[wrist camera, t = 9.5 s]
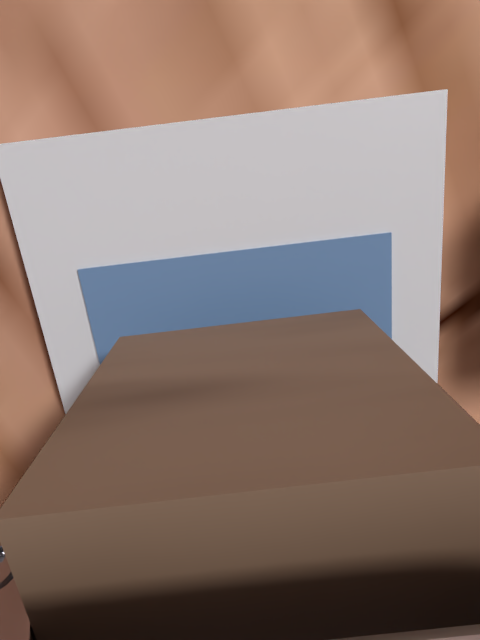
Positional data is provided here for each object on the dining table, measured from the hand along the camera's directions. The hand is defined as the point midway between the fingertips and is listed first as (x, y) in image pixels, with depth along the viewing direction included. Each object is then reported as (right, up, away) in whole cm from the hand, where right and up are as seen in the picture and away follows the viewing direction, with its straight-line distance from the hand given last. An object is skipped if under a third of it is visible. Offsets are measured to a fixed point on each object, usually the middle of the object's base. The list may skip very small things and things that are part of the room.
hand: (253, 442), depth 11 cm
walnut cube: (0, 0, +1) cm, 1 cm away
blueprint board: (0, +1, +3) cm, 4 cm away
